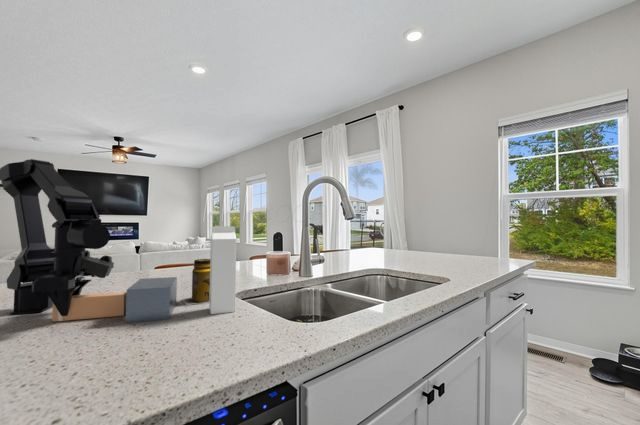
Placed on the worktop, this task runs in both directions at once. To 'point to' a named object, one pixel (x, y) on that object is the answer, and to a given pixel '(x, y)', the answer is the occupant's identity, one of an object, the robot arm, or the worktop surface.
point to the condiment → (200, 282)
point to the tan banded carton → (93, 306)
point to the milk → (222, 270)
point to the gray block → (151, 299)
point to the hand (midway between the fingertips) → (67, 313)
